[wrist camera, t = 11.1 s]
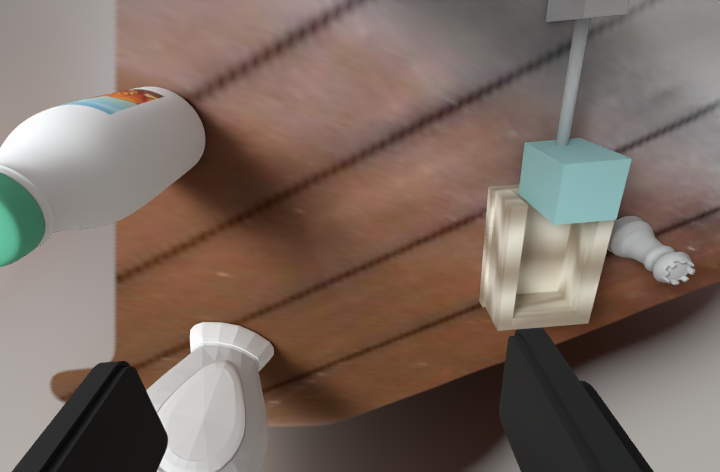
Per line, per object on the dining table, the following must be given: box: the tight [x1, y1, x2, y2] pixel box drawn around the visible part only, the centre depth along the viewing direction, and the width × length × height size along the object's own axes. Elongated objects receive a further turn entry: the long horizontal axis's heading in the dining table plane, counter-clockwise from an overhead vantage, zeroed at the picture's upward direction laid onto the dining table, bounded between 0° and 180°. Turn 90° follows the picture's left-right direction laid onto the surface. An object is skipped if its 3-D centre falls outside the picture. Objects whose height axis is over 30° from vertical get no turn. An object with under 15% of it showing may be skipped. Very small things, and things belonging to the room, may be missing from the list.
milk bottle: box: [0, 87, 205, 267], centre depth 25 cm, size 8×8×20 cm
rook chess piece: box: [607, 216, 695, 285], centre depth 37 cm, size 4×4×8 cm
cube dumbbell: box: [519, 0, 632, 225], centre depth 30 cm, size 18×5×8 cm, turn 4°
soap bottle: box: [146, 322, 274, 472], centre depth 35 cm, size 13×8×24 cm, turn 66°
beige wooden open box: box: [479, 184, 615, 331], centre depth 38 cm, size 14×10×5 cm
